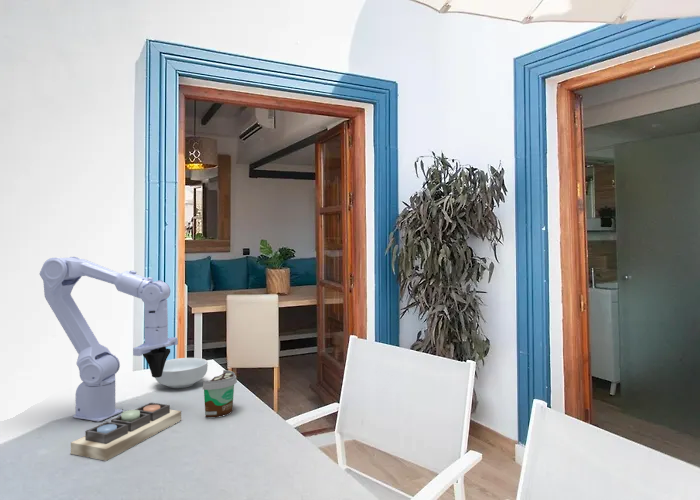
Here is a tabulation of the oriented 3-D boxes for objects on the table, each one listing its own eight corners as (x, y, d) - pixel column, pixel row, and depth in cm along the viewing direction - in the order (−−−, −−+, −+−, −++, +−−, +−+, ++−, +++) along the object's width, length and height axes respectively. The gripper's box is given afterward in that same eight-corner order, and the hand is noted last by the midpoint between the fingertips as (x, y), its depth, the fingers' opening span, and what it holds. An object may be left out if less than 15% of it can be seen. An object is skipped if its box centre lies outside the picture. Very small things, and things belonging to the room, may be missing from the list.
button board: (70, 453, 102) (70, 433, 102) (150, 416, 125) (150, 399, 125) (106, 460, 99) (106, 439, 99) (181, 420, 122) (181, 403, 122)
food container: (224, 421, 121) (224, 383, 121) (202, 419, 123) (202, 381, 123) (244, 405, 134) (244, 370, 133) (224, 404, 135) (224, 369, 135)
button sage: (117, 422, 111) (117, 414, 111) (130, 416, 115) (130, 408, 115) (131, 424, 110) (131, 416, 110) (143, 418, 113) (143, 410, 113)
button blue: (92, 437, 104) (92, 429, 104) (107, 431, 108) (107, 423, 108) (106, 440, 103) (106, 432, 103) (120, 433, 107) (120, 425, 107)
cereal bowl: (170, 376, 163) (170, 356, 163) (215, 378, 160) (215, 358, 160) (142, 391, 146) (142, 369, 146) (192, 394, 144) (192, 371, 144)
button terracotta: (139, 416, 117) (139, 408, 117) (151, 410, 121) (151, 403, 121) (152, 418, 116) (152, 410, 116) (163, 412, 120) (163, 405, 120)
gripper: (148, 331, 117) (149, 385, 117) (186, 322, 131) (186, 370, 131) (126, 330, 120) (127, 383, 120) (165, 321, 133) (166, 368, 133)
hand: (156, 376), depth 126 cm, fingers closed
